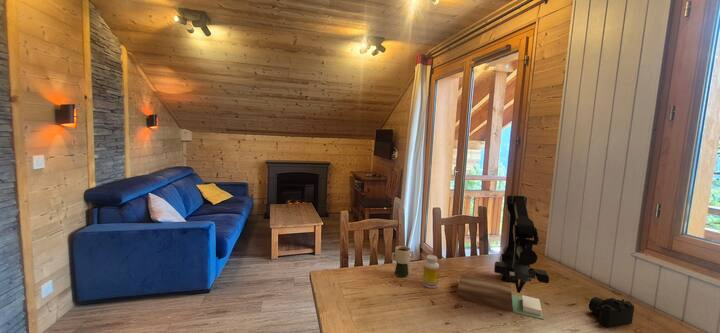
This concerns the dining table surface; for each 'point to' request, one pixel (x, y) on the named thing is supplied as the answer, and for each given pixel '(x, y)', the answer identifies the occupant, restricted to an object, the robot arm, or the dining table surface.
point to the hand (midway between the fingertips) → (518, 292)
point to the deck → (485, 292)
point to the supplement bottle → (431, 272)
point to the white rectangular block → (531, 305)
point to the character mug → (402, 260)
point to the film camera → (612, 311)
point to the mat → (519, 309)
